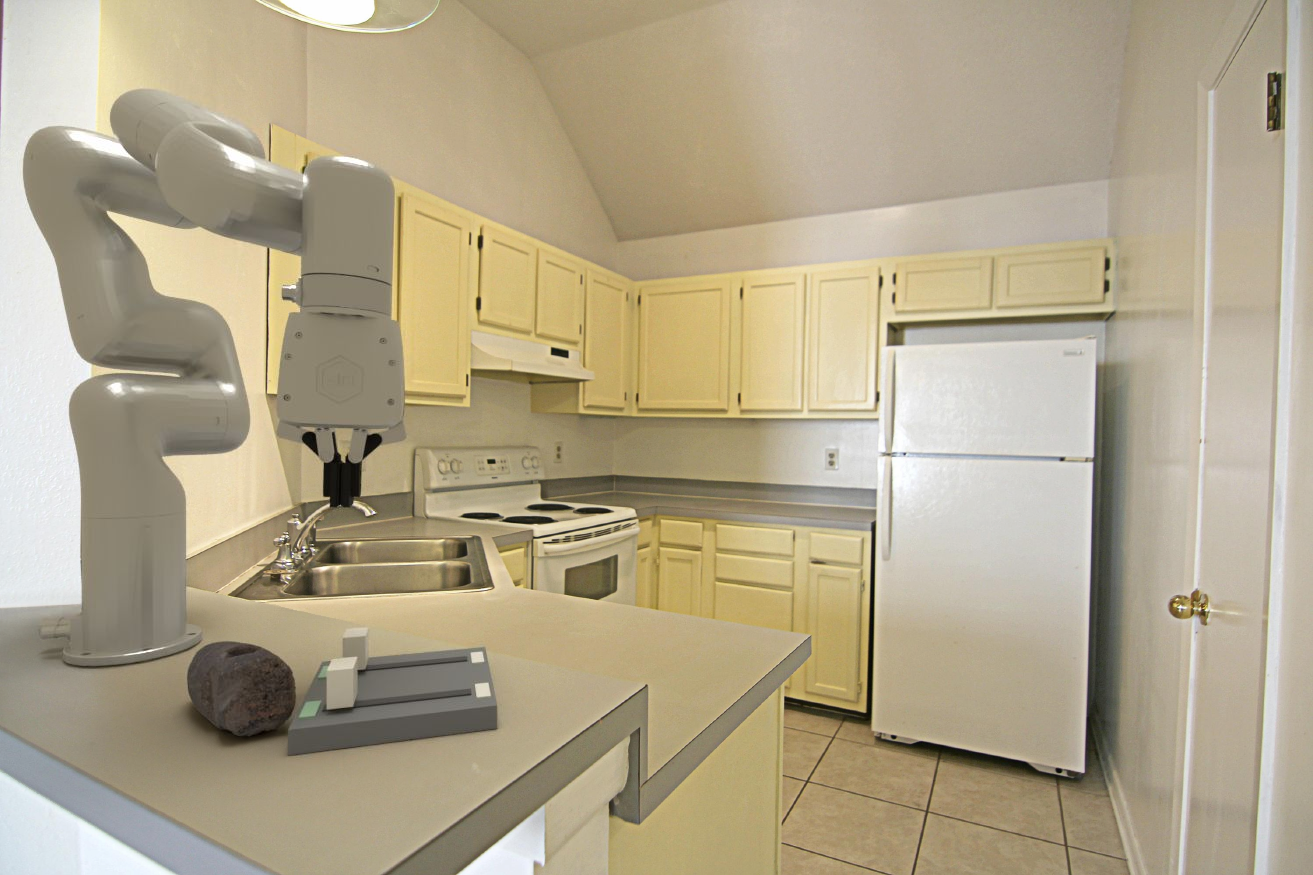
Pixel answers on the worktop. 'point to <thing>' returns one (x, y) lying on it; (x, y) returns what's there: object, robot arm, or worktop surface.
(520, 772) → the worktop surface
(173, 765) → the worktop surface
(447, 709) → the slider switch panel
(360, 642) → the block
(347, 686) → the block
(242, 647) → the perforated stone tool
